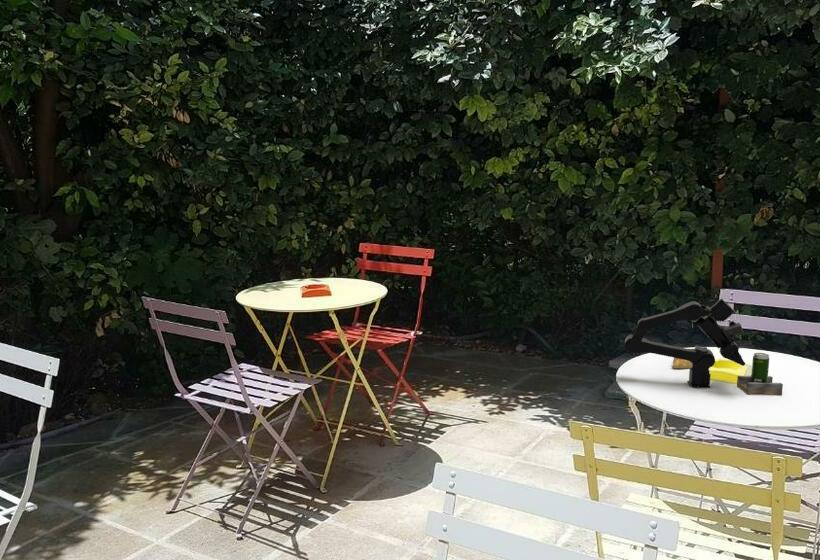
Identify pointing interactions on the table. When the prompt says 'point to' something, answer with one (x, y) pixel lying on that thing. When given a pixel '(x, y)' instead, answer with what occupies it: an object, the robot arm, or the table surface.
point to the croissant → (681, 363)
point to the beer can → (760, 368)
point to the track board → (743, 387)
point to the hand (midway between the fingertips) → (742, 361)
